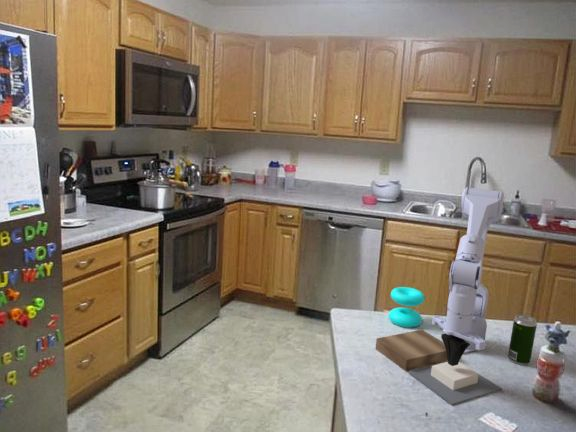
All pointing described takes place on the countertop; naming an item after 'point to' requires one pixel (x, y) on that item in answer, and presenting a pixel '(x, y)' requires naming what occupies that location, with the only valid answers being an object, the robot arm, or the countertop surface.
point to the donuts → (406, 315)
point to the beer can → (522, 339)
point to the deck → (412, 349)
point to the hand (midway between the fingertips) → (452, 364)
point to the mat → (459, 394)
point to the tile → (454, 375)
